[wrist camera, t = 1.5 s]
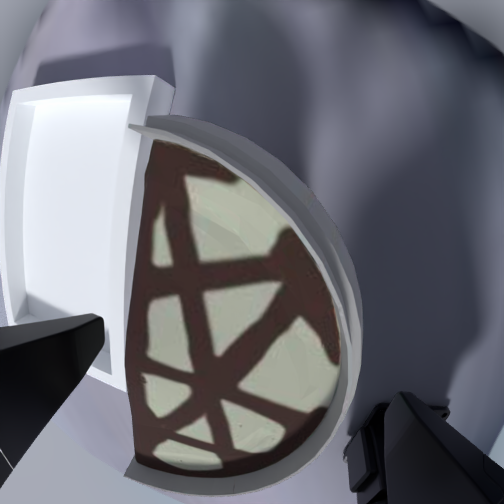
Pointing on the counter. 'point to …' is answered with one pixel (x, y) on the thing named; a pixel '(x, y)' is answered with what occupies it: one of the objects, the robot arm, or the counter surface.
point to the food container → (234, 317)
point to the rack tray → (76, 203)
